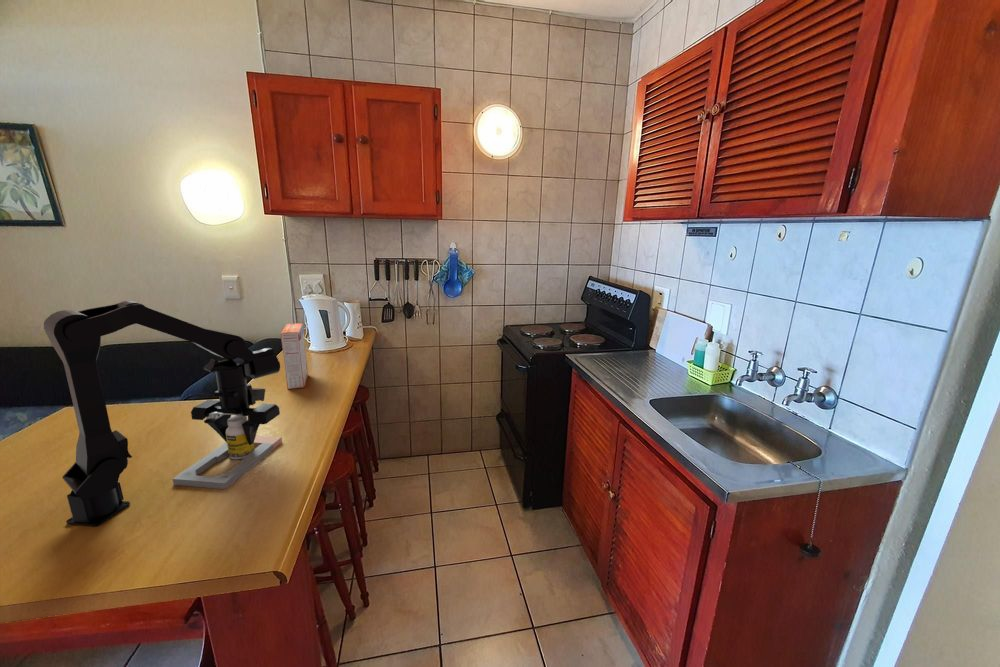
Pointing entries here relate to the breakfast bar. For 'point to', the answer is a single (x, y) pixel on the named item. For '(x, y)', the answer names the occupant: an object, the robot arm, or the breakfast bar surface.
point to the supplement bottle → (237, 438)
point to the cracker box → (294, 355)
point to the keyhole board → (223, 481)
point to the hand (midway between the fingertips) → (240, 443)
